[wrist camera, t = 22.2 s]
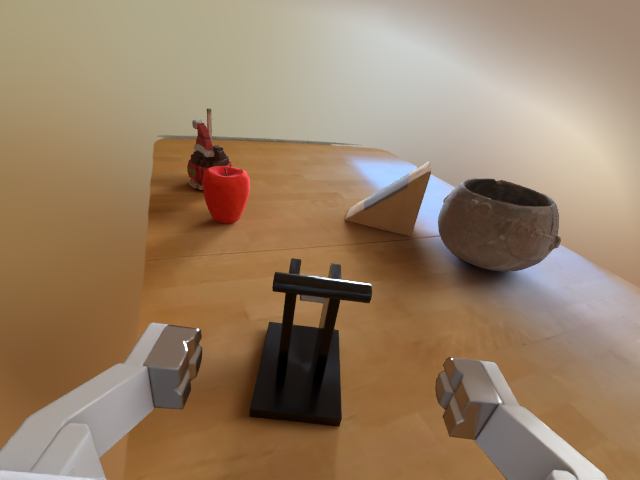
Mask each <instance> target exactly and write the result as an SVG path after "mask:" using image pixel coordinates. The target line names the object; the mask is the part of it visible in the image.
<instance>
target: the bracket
mask: <svg viewBox="0 0 640 480" xmlns="http://www.w3.org/2000/svg"><path fill="white" fill-rule="evenodd" d="M300 266H301V260H300V259H291V264H290V269H289V274H297V275H299V273H300ZM328 279H336V280H341V265H338V264H331V266H330V271H329V276H328ZM296 296H297V294H291V293H286V295H285V304H284V312H283V321H282V323H274V322H269V325H268V330H267V334H266V339H265V343H264V348H263V353H262V357H261V362H260V366H259V371H258V375H257V380H256V384H255V389H254V393H253V398H252V402H251V407H250V417H257V418H267V419H276V420H285V421H295V422H304V423H314V424H323V425H332V426H340V422H341V419H342V415H341V387H340V360H339V332H338V330H334V326H335V322H336V317H337V313H338V308H339V304H340V300H338V299H330V298H324V303H323V308H322V313H321V319H320V324H319V328H316V327H307V326H299V325H293V318H294V311H295V303H296Z"/></svg>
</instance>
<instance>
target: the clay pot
mask: <svg viewBox="0 0 640 480" xmlns="http://www.w3.org/2000/svg"><path fill="white" fill-rule="evenodd" d="M443 203H444V204H443V206H442V209H441V211H440V214H439V217H438V228H439V233H440V236H441V239H442V241H443V242H444V244H445V245H446V247H447V248H448V249H449V250H450V251H451V252H452V253H453V254H454V255H455V256H457V257H458V258H460V259H461V260H463V261H465V262H467V263H470V264H472V265H475V266H477V267H480V268H483V269H488V270H495V271H506V272H508V271H518V270H523V269H525V268H528V267H530V266H533V265H535V264H538V263H539V262H541V261H542V260H543V259H544V258H545V257H546V256H547V255H548V254H549V253H550V252H551V251H552V250H553V249H555V248H558V246H559V244H560V241H561V240H560V237H558V236H557V235H558V228H559V213H558V209H557V206H556V204H555V203H554V201H553V200H552V199H551V198H549V197H548V196H546V195H544V194H541V193H539V192H536V191H534V190H531V189H528V188H526V187H523V186H520V185H517V184H513V183H511V182H507V181H503V180H500V181H495V180H494V179H489V178H473V179H468V180H465V181H463V182H461V183H460V184H459V185H458V186H457V187H455V188H454V189H453V190H452V192H451V193H450V194H449V195H448V196H447V197H446V198H445V199H444V201H443Z"/></svg>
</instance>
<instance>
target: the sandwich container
mask: <svg viewBox="0 0 640 480" xmlns="http://www.w3.org/2000/svg"><path fill="white" fill-rule="evenodd" d="M430 174H431V168H430V161H429V162H427V163H426V164H424V165H423V166H421V167H419V168H417V169H416V170H414V171H412V172H411V173H409V174H407V175H406V176H404V177H402V178H401V179H399V180H397V181H396V182H394V183H392V184H390V185H389V186H387V187H385V188H384V189H382V190H380V191H378V192H377V193H375V194H373V195H372V196H370V197H368V198H366V199H365V200H363V201H361V202H359V203H358V204H356V205H354V206H352V207H351V208H350V209H349V211H348V213H347V215H346V217H345V220H347V221H350V222H354V223H358V224H362V225H366V226H370V227H374V228H378V229H382V230H387V231H390V232H394V233H399V234H403V235H408V236H411V235H412V232H413V228H414V225H415V222H416V219H417V216H418V212H419V209H420V206H421V203H422V200H423V197H424V193H425V190H426V187H427V184H428V181H429V177H430Z"/></svg>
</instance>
